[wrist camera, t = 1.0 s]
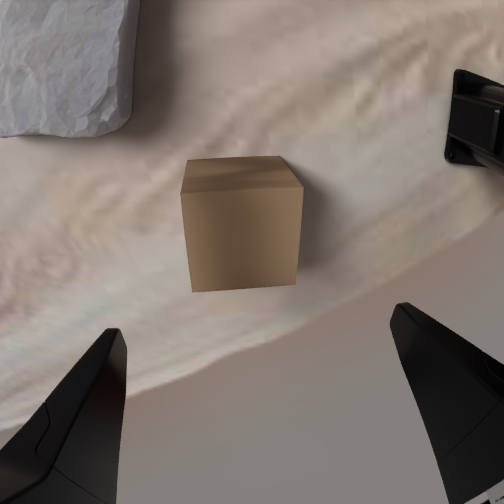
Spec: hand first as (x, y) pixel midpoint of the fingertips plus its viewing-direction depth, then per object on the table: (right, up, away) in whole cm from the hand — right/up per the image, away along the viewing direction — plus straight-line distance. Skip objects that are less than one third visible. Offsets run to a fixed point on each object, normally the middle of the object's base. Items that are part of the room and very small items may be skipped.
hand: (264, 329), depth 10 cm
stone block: (-11, +14, +2) cm, 18 cm away
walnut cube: (-1, +5, +9) cm, 10 cm away
